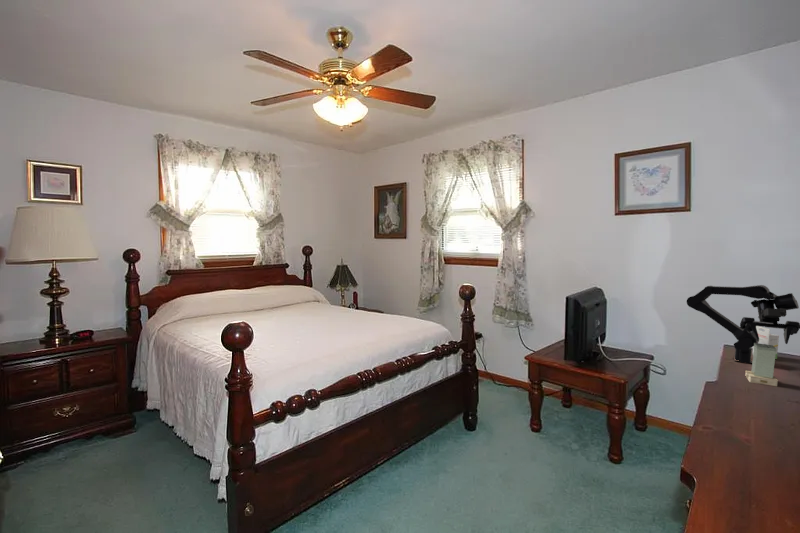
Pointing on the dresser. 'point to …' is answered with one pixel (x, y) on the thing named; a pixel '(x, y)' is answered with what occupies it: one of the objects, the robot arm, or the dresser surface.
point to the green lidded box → (763, 360)
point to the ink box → (767, 338)
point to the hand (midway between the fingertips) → (772, 341)
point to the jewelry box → (760, 379)
